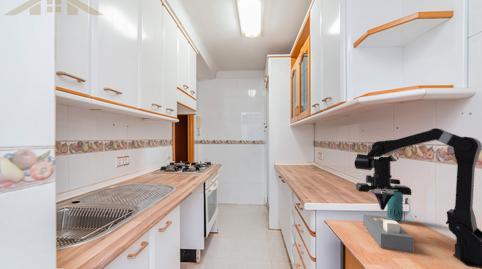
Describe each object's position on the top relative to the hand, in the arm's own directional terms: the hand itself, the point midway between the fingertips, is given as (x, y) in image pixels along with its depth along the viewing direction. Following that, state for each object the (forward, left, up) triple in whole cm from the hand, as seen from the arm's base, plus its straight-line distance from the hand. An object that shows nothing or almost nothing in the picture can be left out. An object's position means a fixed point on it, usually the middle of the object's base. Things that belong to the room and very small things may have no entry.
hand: (382, 209), depth 92 cm
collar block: (0, +3, -10) cm, 10 cm away
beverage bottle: (-12, -20, -10) cm, 25 cm away
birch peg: (0, -3, -10) cm, 10 cm away
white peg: (0, +9, -7) cm, 12 cm away
